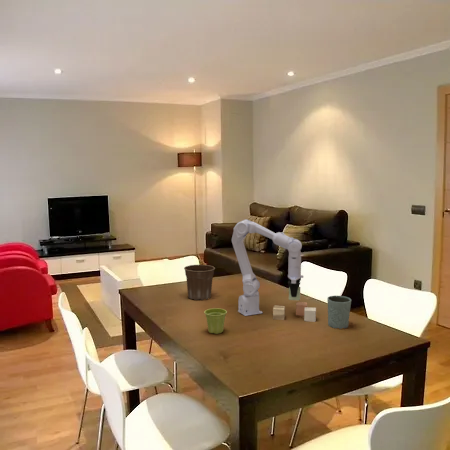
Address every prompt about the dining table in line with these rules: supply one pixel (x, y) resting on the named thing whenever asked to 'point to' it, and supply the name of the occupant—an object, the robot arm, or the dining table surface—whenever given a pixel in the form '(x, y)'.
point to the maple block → (279, 312)
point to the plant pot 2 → (215, 319)
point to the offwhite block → (310, 314)
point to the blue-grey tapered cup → (338, 311)
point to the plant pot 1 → (199, 281)
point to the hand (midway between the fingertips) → (294, 295)
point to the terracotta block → (300, 308)
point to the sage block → (296, 296)
